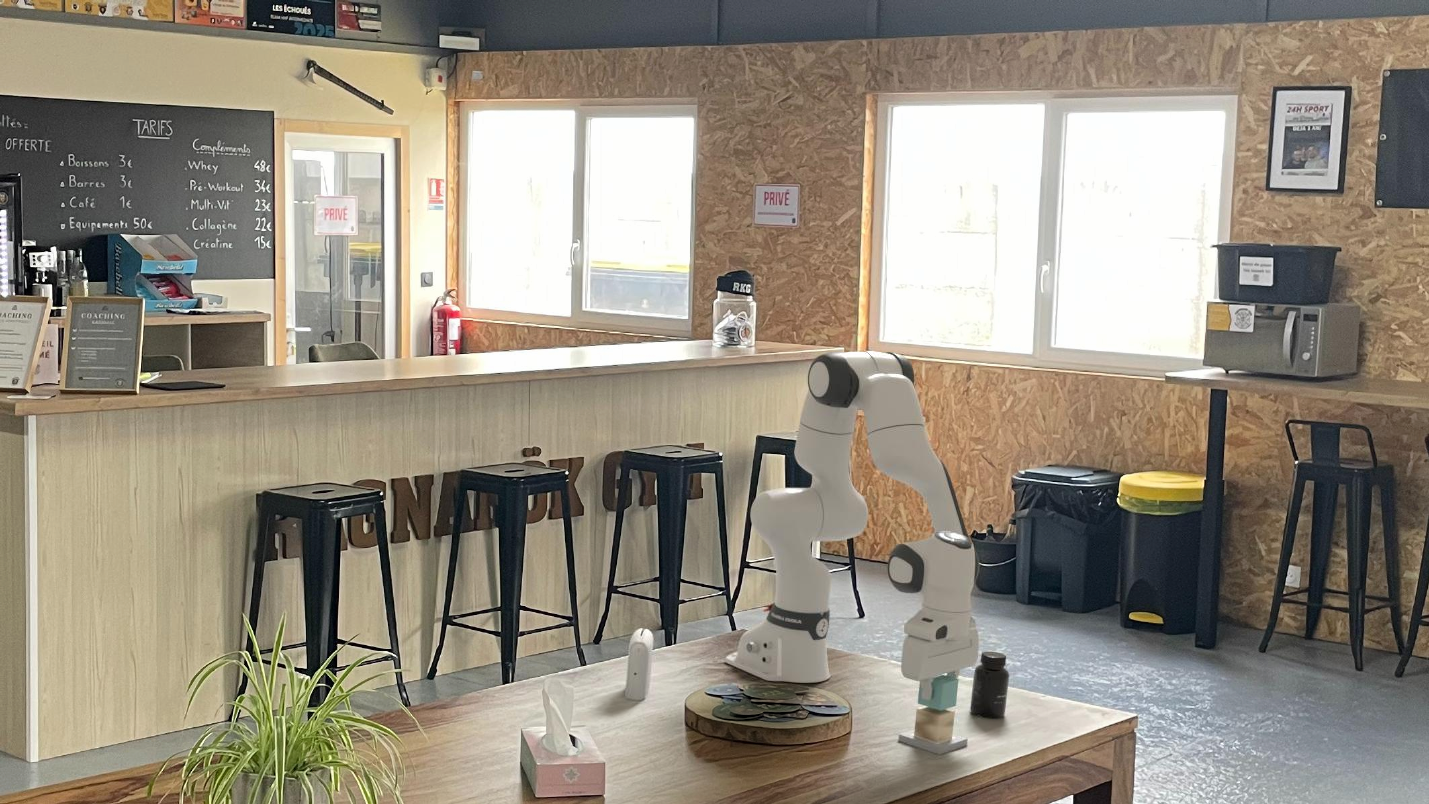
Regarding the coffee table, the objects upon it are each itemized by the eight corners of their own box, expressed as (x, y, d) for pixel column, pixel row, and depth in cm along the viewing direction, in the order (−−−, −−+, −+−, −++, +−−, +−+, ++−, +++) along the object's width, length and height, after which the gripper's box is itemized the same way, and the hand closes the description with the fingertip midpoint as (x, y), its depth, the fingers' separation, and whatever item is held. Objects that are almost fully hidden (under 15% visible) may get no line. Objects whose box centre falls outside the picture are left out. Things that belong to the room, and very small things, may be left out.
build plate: (898, 740, 289) (898, 734, 289) (926, 731, 296) (926, 725, 296) (939, 754, 284) (940, 747, 283) (966, 745, 290) (967, 738, 290)
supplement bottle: (1004, 721, 307) (1010, 661, 306) (969, 716, 308) (975, 656, 307) (1005, 711, 314) (1011, 652, 313) (970, 706, 315) (976, 647, 314)
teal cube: (917, 703, 289) (920, 676, 288) (933, 698, 293) (935, 672, 292) (940, 710, 286) (943, 683, 285) (955, 705, 289) (958, 679, 289)
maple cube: (914, 734, 290) (916, 708, 289) (929, 730, 293) (932, 703, 293) (936, 742, 286) (939, 715, 286) (952, 737, 290) (954, 711, 289)
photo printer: (645, 701, 300) (650, 638, 299) (623, 699, 300) (628, 636, 299) (651, 686, 310) (656, 625, 309) (629, 684, 310) (634, 622, 309)
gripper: (961, 611, 297) (954, 682, 299) (898, 625, 282) (891, 700, 284) (990, 618, 293) (982, 691, 295) (928, 633, 278) (920, 710, 279)
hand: (937, 696), depth 289 cm, fingers closed on teal cube, 5 cm apart
